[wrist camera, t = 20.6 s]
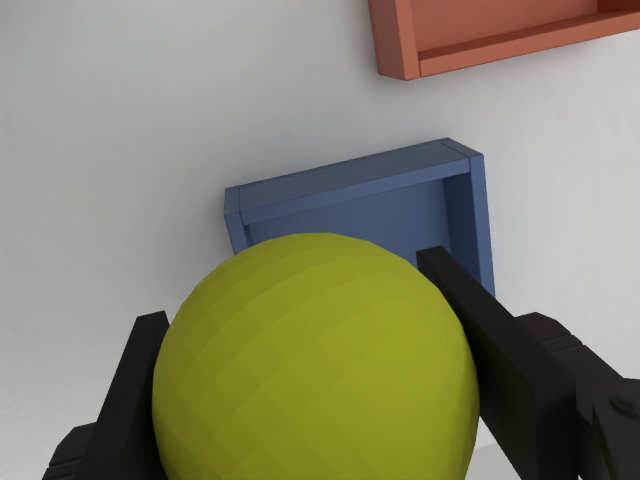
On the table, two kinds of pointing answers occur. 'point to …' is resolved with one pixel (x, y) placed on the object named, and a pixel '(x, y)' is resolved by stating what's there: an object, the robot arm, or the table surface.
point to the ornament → (315, 370)
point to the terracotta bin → (485, 30)
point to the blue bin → (378, 204)
